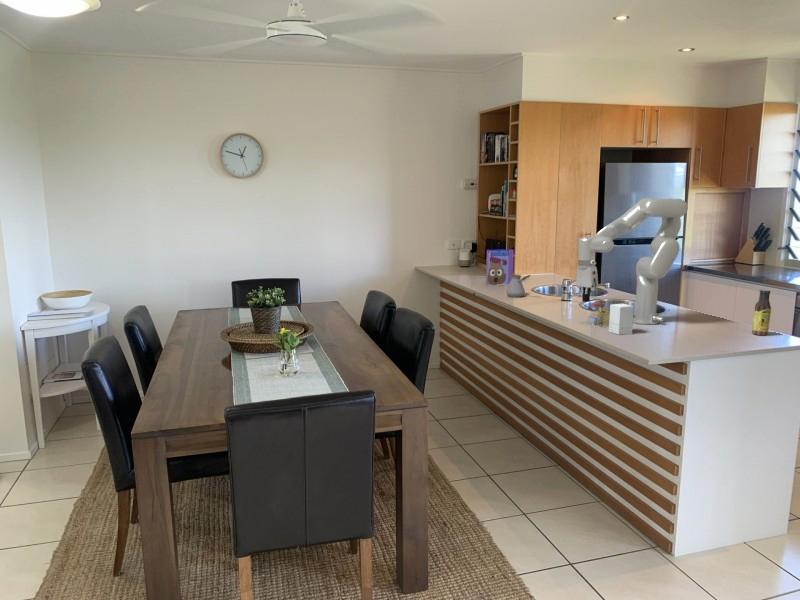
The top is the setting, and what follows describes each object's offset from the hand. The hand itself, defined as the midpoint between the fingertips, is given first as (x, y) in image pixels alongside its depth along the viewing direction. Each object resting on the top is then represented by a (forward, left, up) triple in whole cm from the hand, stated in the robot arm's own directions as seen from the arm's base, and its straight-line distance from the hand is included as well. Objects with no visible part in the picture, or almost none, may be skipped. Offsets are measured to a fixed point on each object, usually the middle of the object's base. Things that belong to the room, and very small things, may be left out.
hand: (586, 301), depth 288 cm
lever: (-6, -1, -3) cm, 6 cm away
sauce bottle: (-64, -37, -11) cm, 75 cm away
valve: (-5, -6, -11) cm, 13 cm away
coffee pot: (+65, -31, -11) cm, 73 cm away
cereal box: (+106, -61, -11) cm, 123 cm away
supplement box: (-22, +6, -11) cm, 25 cm away
